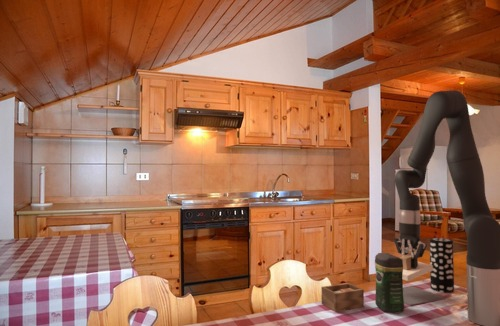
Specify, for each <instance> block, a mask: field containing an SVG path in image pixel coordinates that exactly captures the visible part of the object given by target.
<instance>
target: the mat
mask: <svg viewBox="0 0 500 326" xmlns="http://www.w3.org/2000/svg"><path fill="white" fill-rule="evenodd" d="M403 299H404V305H407V306H410V307H411V306H417V305H422V304H426V303H433V302H436V301H442V300H446V299H447V297H445V296H442V295H439V294H436V293H433V292H431V291H427V290H426V289H421V288H418V287H416V286H413V285H411V286H405V287H404V286H403Z"/></svg>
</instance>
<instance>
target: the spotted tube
mask: <svg viewBox="0 0 500 326" xmlns="http://www.w3.org/2000/svg"><path fill="white" fill-rule="evenodd" d="M429 264H430V265H433V271H431V272H429V273H430V276H429V277H430V278H429V279H430V280H429V281H430V289H431V290H432V291H435V292H439V293H446V294H450V293H451V294H452V293H454V292H455V269H454V240H453V239H450V238H444V237H430V238H429Z"/></svg>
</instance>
